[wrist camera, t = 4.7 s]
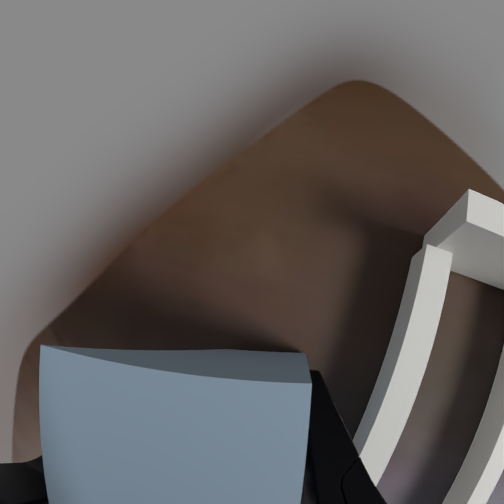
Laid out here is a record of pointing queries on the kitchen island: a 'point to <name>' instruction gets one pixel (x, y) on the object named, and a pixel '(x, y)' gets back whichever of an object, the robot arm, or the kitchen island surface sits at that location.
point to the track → (421, 341)
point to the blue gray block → (173, 425)
